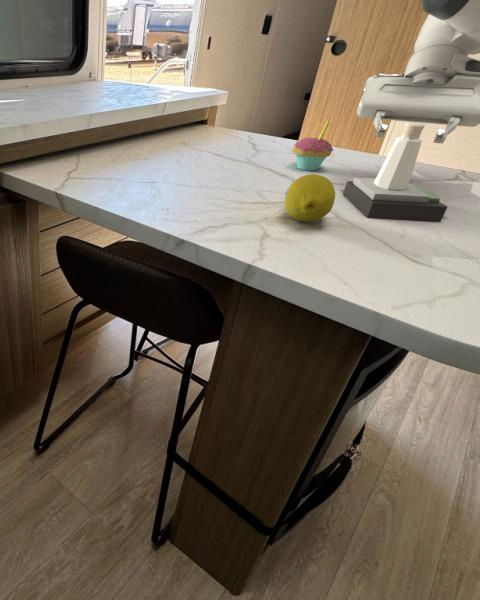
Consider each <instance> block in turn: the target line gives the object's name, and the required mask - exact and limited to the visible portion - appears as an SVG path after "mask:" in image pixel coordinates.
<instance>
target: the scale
mask: <svg viewBox="0 0 480 600" xmlns="http://www.w3.org/2000/svg"><path fill="white" fill-rule="evenodd" d="M353 178H354V179H353V180H347V181H346V184H345V187H344V189H343V192H342V195H343V196H344V197H345V198H346V199H347V200H348V201H349V202H350V203H351V204H352V205H353V206H354V207H355V208H356V209H358V211H360V212H361V213H362V214H363V215H364V216H365V217H366V218H369V219H386V220H387V219H388V220H389V219H390V220H401V221H402V220H403V221H421V222H422V221H423V222H439V223H440V222H442V219H443V218H444V215H445V214H446V212H447V210H448V206H447V205H446V204H444V203H442V202H441V198H440V197H439V196H437V195H435V194H434V193H432V192H431V191H429V190H427V189H426V188H424V187H422V186H421V185H419V184H413V183H410V182H409V185H408V188H407V189H405V190H401V191H398V190H387V189H384V188H380V187H377V186H376V185H375V184H374V181H375V179H376V177H353Z"/></svg>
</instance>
